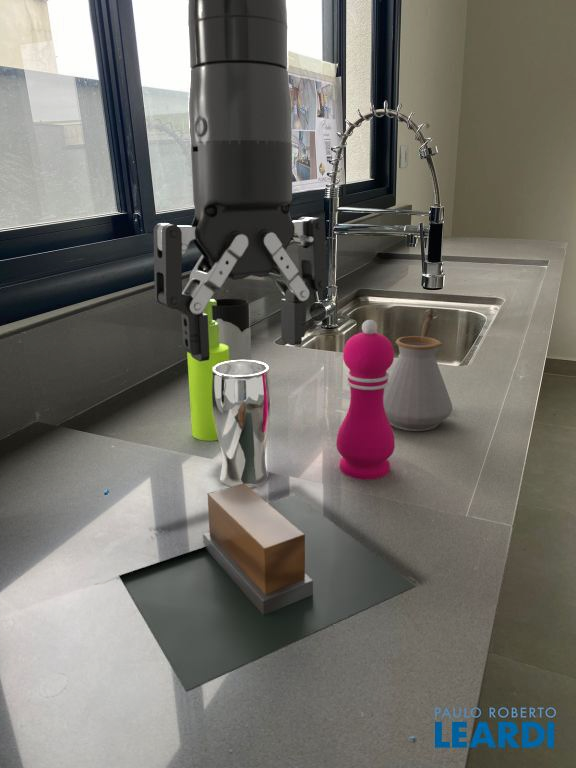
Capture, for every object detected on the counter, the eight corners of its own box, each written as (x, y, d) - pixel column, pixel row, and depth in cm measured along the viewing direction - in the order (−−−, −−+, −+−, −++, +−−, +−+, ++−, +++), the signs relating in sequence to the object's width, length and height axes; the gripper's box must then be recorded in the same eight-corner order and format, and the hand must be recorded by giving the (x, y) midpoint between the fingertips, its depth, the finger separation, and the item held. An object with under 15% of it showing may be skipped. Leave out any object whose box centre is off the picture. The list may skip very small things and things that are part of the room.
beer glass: (207, 494, 72) (201, 374, 67) (227, 468, 78) (222, 357, 74) (263, 501, 70) (261, 378, 66) (278, 474, 77) (277, 361, 72)
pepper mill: (396, 465, 79) (404, 315, 73) (389, 491, 72) (397, 328, 66) (341, 459, 81) (344, 312, 75) (330, 484, 74) (332, 325, 68)
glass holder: (199, 386, 110) (194, 305, 106) (230, 365, 123) (227, 292, 118) (243, 391, 108) (240, 308, 103) (270, 369, 120) (269, 294, 116)
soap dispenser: (182, 428, 91) (173, 297, 85) (227, 423, 93) (222, 294, 87) (188, 444, 86) (179, 305, 80) (235, 438, 88) (230, 301, 82)
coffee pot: (446, 440, 86) (455, 338, 82) (368, 430, 90) (371, 332, 85) (459, 394, 105) (467, 309, 101) (394, 387, 109) (398, 305, 104)
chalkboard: (186, 702, 43) (186, 691, 43) (106, 561, 59) (105, 553, 59) (415, 595, 54) (416, 586, 54) (295, 501, 70) (295, 493, 70)
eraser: (263, 615, 50) (262, 553, 48) (203, 546, 60) (200, 492, 58) (313, 594, 53) (313, 535, 51) (247, 531, 62) (246, 479, 61)
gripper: (295, 144, 51) (295, 331, 56) (130, 139, 44) (148, 353, 49) (349, 139, 45) (344, 348, 50) (168, 132, 38) (184, 377, 43)
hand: (247, 350), depth 50 cm, fingers open, 8 cm apart
